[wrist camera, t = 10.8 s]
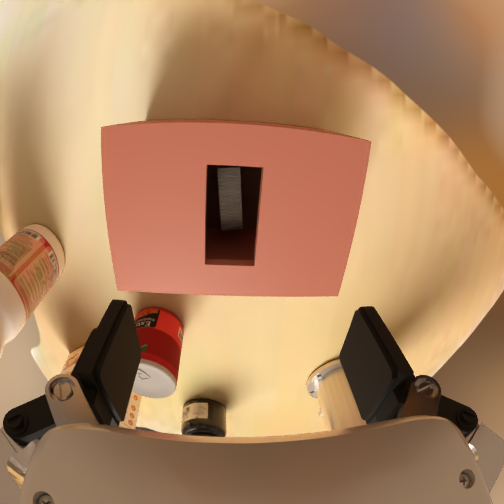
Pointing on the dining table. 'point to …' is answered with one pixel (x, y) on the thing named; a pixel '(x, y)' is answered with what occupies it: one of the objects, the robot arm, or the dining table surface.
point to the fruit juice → (26, 276)
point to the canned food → (158, 352)
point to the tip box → (253, 207)
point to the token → (230, 197)
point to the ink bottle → (204, 418)
